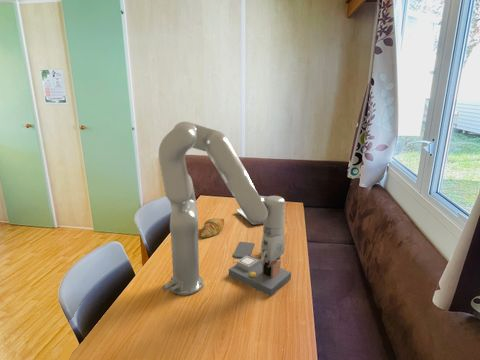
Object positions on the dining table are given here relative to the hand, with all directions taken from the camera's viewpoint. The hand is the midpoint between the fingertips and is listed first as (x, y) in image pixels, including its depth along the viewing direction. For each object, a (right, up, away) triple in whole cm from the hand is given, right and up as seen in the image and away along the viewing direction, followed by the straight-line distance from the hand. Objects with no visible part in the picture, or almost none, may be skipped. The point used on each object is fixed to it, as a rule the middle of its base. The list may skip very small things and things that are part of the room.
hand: (271, 271), depth 121 cm
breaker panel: (-4, -3, +2) cm, 6 cm away
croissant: (-26, +8, +41) cm, 50 cm away
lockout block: (0, 0, 0) cm, 0 cm away
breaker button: (-9, +1, +5) cm, 10 cm away
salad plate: (-1, +13, +60) cm, 61 cm away
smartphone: (-10, +3, +23) cm, 25 cm away
